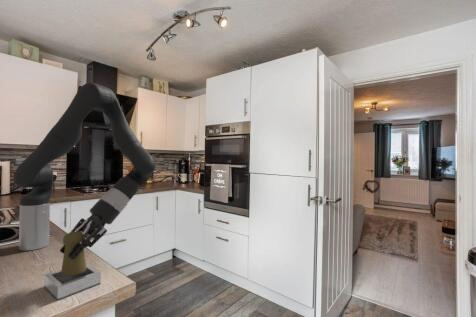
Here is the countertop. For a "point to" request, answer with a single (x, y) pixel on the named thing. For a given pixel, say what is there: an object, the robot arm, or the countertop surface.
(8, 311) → the countertop surface
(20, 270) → the countertop surface
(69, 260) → the cork
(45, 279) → the grey shallow square box
